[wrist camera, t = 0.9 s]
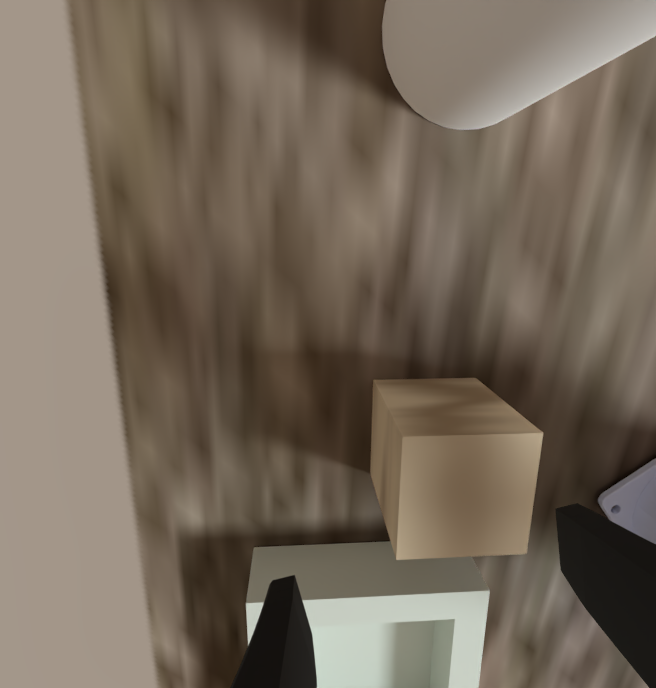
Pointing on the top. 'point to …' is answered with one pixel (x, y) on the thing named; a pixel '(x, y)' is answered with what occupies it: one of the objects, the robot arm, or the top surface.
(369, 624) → the dish
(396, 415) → the block
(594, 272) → the top surface
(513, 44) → the cylindrical container
